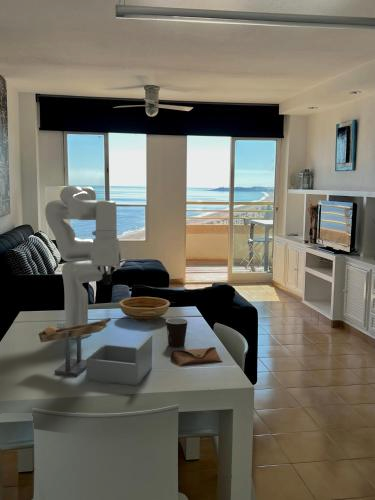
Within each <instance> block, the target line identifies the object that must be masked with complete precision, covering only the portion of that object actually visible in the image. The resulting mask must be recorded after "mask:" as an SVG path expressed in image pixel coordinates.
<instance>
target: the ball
mask: <svg viewBox="0 0 375 500" xmlns="http://www.w3.org/2000/svg"><path fill="white" fill-rule="evenodd" d="M56 329H57V328H55V327H54V326H52V325H48V326H47V327H46V328H45V329H44V330H45V334H46V335H47V334H52V333H56Z"/></svg>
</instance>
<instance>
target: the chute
mask: <svg viewBox="0 0 375 500" xmlns="http://www.w3.org/2000/svg"><path fill="white" fill-rule="evenodd" d="M110 321H112V319H111V318H110V317H108V318H104V319H101V320H99V321H94V322H88V324H83V325H78V326H72V327H67V328H62V329H58V328H55V329H56V333H52V334H47V335H46V334H45V329H44V330H42V331H41V332H38V337H39V341H40V343H46V342H51V341H57V340H64V339H65V333H66V332H70V337H74V336H80V335H85V334H91V333H92V334H95V333H100V332H101V331H102V330H104V329H105V328H106V327H108V326H107V325H108V324H107V323H109V322H110ZM92 334H91V335H92Z"/></svg>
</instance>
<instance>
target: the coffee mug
mask: <svg viewBox="0 0 375 500" xmlns="http://www.w3.org/2000/svg"><path fill="white" fill-rule="evenodd" d="M165 325H166V334H167V343H168V346H169V347H170V348H173V347H174V348H175V349H178V348H183V347H185V342H186V336H187V329H188V319H186V318H182V317H181V318H180V317H171V318H168V319H166V320H165Z"/></svg>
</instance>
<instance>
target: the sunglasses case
mask: <svg viewBox="0 0 375 500" xmlns="http://www.w3.org/2000/svg"><path fill="white" fill-rule="evenodd" d="M216 349H217V348H216V346H215V347H214V346H213V347H211V346H210V347H208V348H207V347H206V348H191V349H183V350H182V349H178V350H177V349H175V350H173V351H172V352H171V353H170V360H171V361H172V362H173V363H174V364H175V365H176V366H177V367H180V368H181V367H184V366H185V367H186V366H192V365H202V364H211V363H212V364H214V363H223V360H221V358H220V355H219V354H218V352H217V350H216Z"/></svg>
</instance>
